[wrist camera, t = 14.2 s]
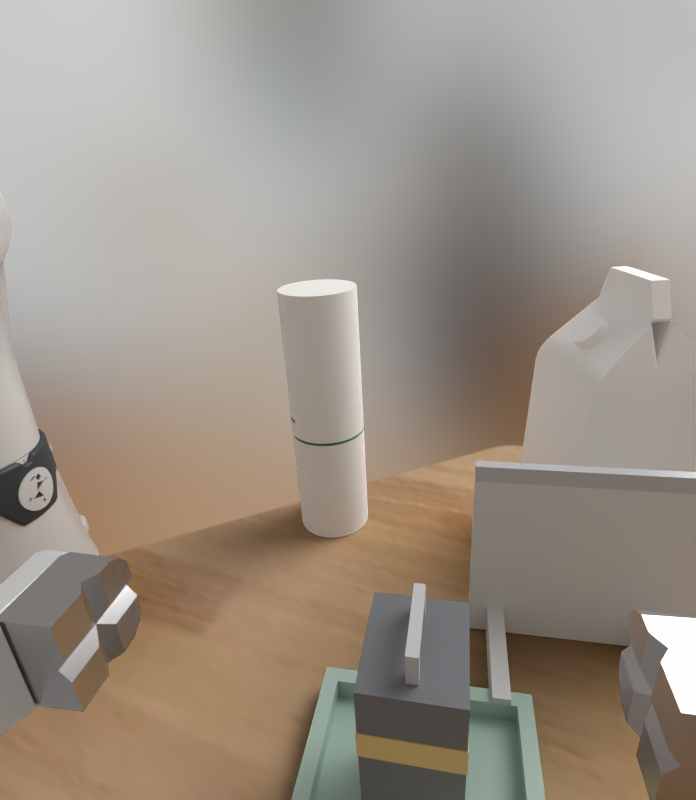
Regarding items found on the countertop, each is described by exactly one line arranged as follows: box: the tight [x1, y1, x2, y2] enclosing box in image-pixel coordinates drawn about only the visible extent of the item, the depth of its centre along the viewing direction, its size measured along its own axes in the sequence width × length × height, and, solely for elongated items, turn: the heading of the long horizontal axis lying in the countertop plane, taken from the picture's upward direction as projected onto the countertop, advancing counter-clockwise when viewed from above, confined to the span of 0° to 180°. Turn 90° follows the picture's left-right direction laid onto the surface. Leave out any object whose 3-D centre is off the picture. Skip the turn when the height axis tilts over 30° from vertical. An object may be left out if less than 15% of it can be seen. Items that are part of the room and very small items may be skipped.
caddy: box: [353, 583, 470, 800], centre depth 27 cm, size 5×6×15 cm
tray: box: [291, 667, 545, 800], centre depth 30 cm, size 14×14×2 cm
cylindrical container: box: [277, 279, 368, 538], centre depth 52 cm, size 7×7×25 cm
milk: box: [521, 266, 696, 472], centre depth 45 cm, size 12×12×26 cm
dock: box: [468, 461, 696, 708], centre depth 35 cm, size 16×9×15 cm, turn 79°
